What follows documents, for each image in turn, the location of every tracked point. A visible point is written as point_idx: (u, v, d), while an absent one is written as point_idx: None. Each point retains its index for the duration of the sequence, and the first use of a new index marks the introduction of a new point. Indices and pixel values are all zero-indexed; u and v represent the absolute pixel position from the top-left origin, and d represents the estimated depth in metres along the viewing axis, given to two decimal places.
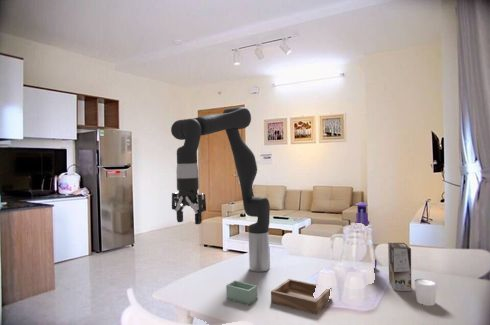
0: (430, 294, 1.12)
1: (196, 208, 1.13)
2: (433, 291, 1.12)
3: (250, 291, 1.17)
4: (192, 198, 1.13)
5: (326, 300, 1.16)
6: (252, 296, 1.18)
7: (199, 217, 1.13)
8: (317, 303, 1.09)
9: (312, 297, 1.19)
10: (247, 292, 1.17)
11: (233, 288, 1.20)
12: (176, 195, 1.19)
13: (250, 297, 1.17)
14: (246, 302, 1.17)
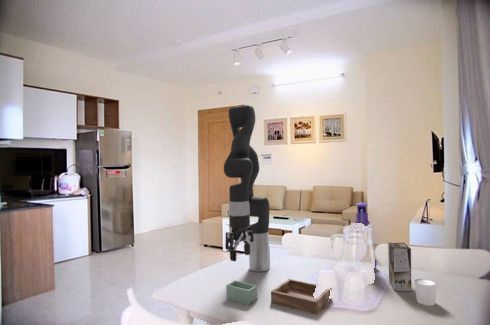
0: (430, 294, 1.12)
1: (249, 240, 1.24)
2: (433, 291, 1.12)
3: (250, 291, 1.17)
4: (247, 232, 1.23)
5: (326, 300, 1.16)
6: (252, 296, 1.18)
7: None
8: (317, 303, 1.09)
9: (312, 297, 1.19)
10: (247, 292, 1.17)
11: (233, 288, 1.20)
12: None
13: (250, 297, 1.17)
14: (246, 302, 1.17)
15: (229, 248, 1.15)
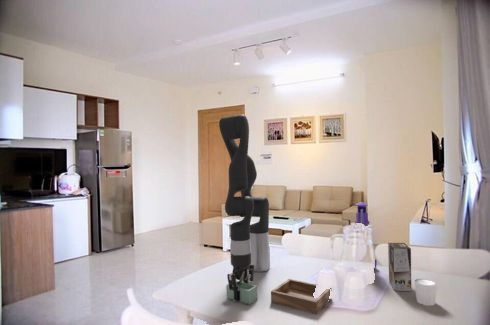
0: (430, 294, 1.12)
1: (249, 279, 1.24)
2: (433, 291, 1.12)
3: (250, 291, 1.17)
4: None
5: (326, 300, 1.16)
6: (252, 296, 1.18)
7: None
8: (317, 303, 1.09)
9: (312, 297, 1.19)
10: (247, 292, 1.17)
11: None
12: None
13: (250, 297, 1.17)
14: (246, 302, 1.17)
15: (233, 289, 1.16)
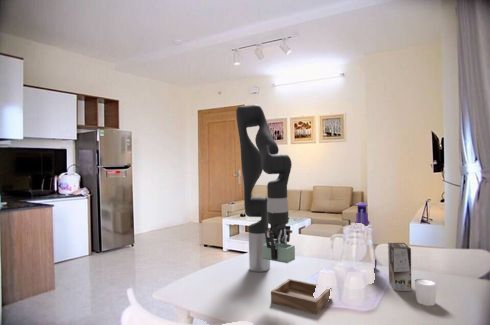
0: (430, 294, 1.12)
1: (285, 240, 1.21)
2: (433, 291, 1.12)
3: (288, 249, 1.15)
4: None
5: (326, 300, 1.16)
6: (290, 255, 1.16)
7: None
8: (317, 303, 1.09)
9: (312, 297, 1.19)
10: (285, 250, 1.14)
11: None
12: (271, 233, 1.15)
13: (288, 255, 1.15)
14: (284, 260, 1.15)
15: (271, 247, 1.14)
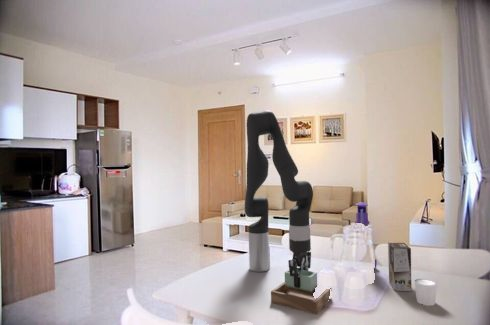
0: (430, 294, 1.12)
1: None
2: (433, 291, 1.12)
3: (311, 277, 1.14)
4: None
5: (326, 300, 1.16)
6: (313, 283, 1.15)
7: None
8: (317, 303, 1.09)
9: (312, 297, 1.19)
10: (308, 278, 1.14)
11: None
12: None
13: (311, 284, 1.14)
14: (307, 289, 1.14)
15: (294, 275, 1.14)
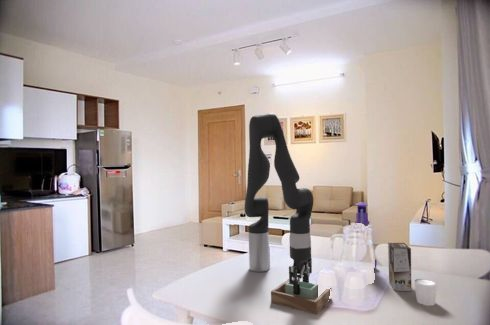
0: (430, 294, 1.12)
1: None
2: (433, 291, 1.12)
3: (312, 290, 1.15)
4: None
5: (326, 300, 1.16)
6: (314, 295, 1.16)
7: None
8: (317, 303, 1.09)
9: None
10: (309, 291, 1.14)
11: None
12: None
13: (312, 296, 1.15)
14: None
15: (294, 282, 1.13)
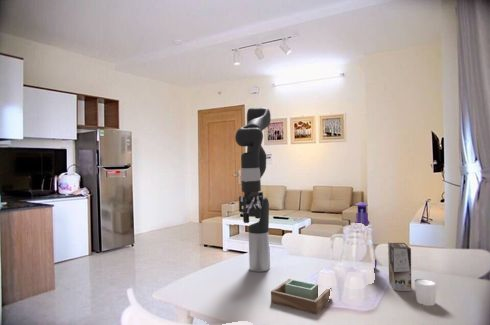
0: (430, 294, 1.12)
1: (259, 204, 1.34)
2: (433, 291, 1.12)
3: (312, 290, 1.15)
4: (257, 197, 1.32)
5: (326, 300, 1.16)
6: (314, 295, 1.16)
7: None
8: (317, 303, 1.09)
9: None
10: (309, 291, 1.14)
11: (293, 287, 1.18)
12: None
13: (312, 296, 1.15)
14: None
15: (243, 210, 1.24)
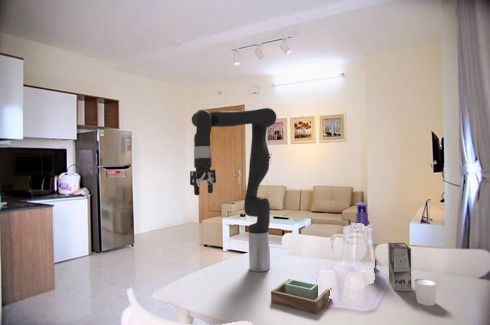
0: (430, 294, 1.12)
1: (212, 180, 1.48)
2: (433, 291, 1.12)
3: (312, 290, 1.15)
4: (209, 173, 1.47)
5: (326, 300, 1.16)
6: (314, 295, 1.16)
7: None
8: (317, 303, 1.09)
9: None
10: (309, 291, 1.14)
11: (293, 287, 1.18)
12: None
13: (312, 296, 1.15)
14: None
15: (193, 183, 1.39)
